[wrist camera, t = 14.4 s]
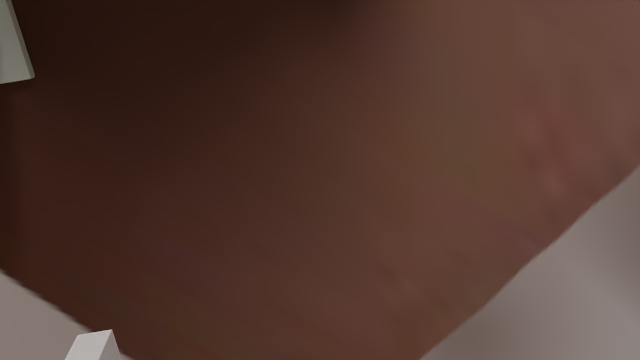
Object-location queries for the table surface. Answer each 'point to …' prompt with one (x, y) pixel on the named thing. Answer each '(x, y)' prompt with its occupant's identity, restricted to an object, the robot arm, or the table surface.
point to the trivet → (12, 47)
